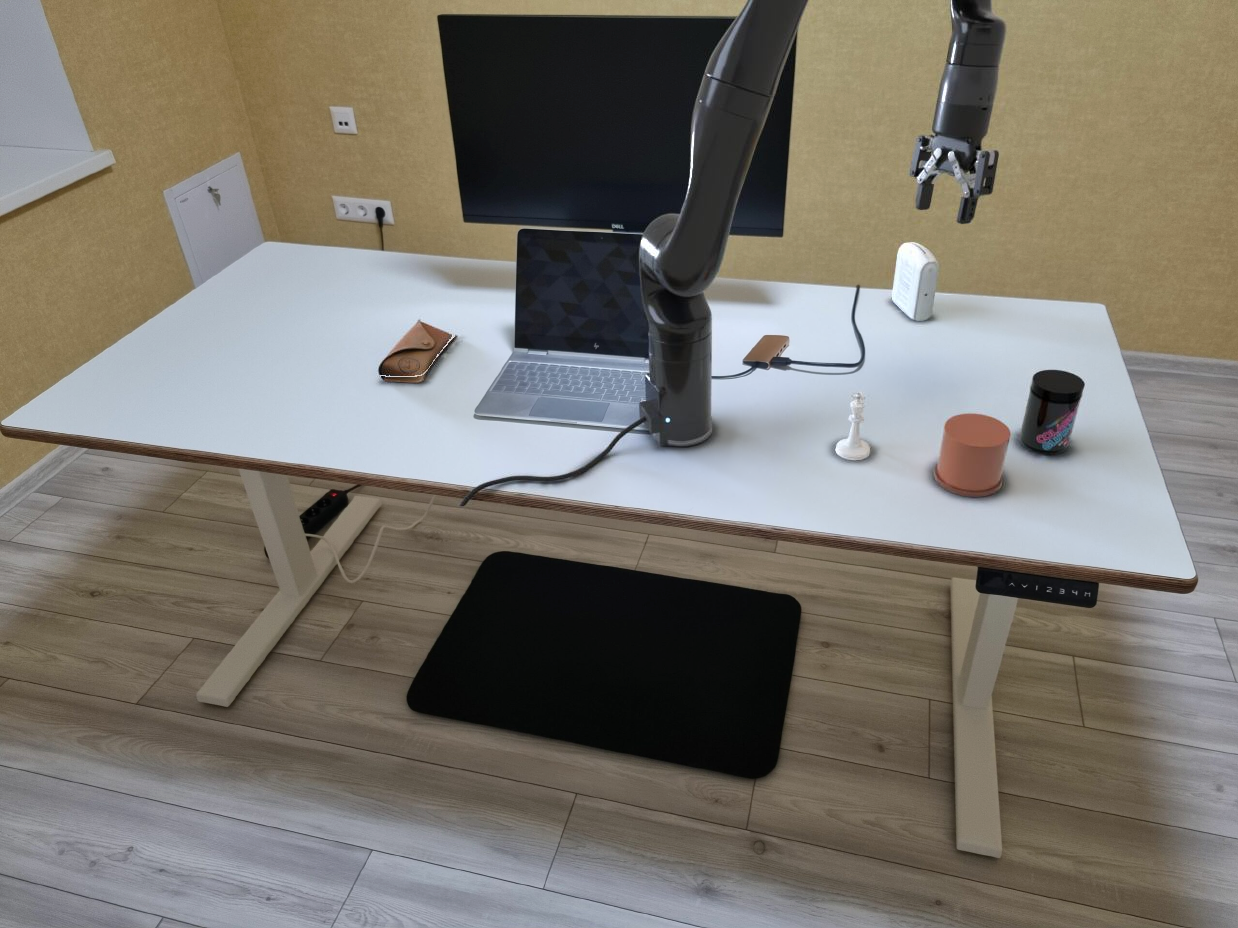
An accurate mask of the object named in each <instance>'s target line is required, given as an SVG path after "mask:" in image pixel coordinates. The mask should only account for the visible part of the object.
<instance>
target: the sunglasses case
mask: <svg viewBox="0 0 1238 928" xmlns="http://www.w3.org/2000/svg"><path fill="white" fill-rule="evenodd" d="M449 333H450V332H447V331H445V330H442V329H440V328H437V327H435V326H433V325H431V324H428V323H426V322H423V321H421V318H419V319H417V321H416V323H415V324H414V325H413V326H412V327H411V328H410V329H409V330H408V331H406V333H405V334H404V335H403V337H402V338H401V339H400V340H399V341H398V342H397V343H396V344H395V346H394V347H393V348H392V349H391V350H390V351H389V353H387V355H386V357H384V359H382V361H381V362H380V364H379V365H378V369H377V372H378V375H386V376H389V375H390V376H415V375H421V374H423V373H424V372H425V371H426V370H427V369H428V368H429V366H430V365H431V364H432V362H433V360H434V359H435V358H436V356H437V354H439V353H440V351H441V350H442V349H443V347H444V346H445V345H446V344H447V342H448V341H449V339H451V337H452V333H450V334H449ZM454 335H455V337H454V338H453V339H452V340H451V341H450V342H449V343H448V345H447V346H446V347H445V348H444V349H443V351H442V352H441V353H440V354H439V356H438V357H437V358H436V359H435V361H434V362H433V364H432V365H431V366H430V368H429V369H428V371H427V372H426V373H425V374H424V375H422V376H417V377H385V376H381V377H380V379H382V381H383V382H386V383H388V382H389V383H396V384H418V383H424V381H425V380H426V378H427V376H428V374H429V373H430V371H431V370H432V368H433V367H434V366H435V365H436V363H437V362H438V360H440V358H441V357H442V356H443V355H444V354H445V353H446V351H447V350H448V349H449V347H451V345H452V344H453V343H454V342H455V341H456V339H457V338H458V335H457V334H454Z"/></svg>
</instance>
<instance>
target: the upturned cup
mask: <svg viewBox="0 0 1238 928" xmlns="http://www.w3.org/2000/svg"><path fill="white" fill-rule="evenodd" d="M1010 440H1011V431H1010V428H1009V427H1008V426H1007V424H1005V423H1004V422H1003V421H1001V420H999V419H997V418H995V417H992V416H990V415H986V414H981V413H970V412H969V413H960V414H957V415H953V416H951V417H950V418H948V419H947V420H946V421H945V423H944V426H943V432H942V437H941V443H940V448H939V454H938V460H937V463H936V464H935V466H934V470H933V478H934V479H935V482H936V483H937V484H938V485H939V487H941V488H942V489H944V490H945V491H948V492H950V493H952V494H954V495H958V496H960V497H961V496H962V497H965V498H967V497H968V498H983V497H988V496H991V495H994V494H995V493H997V492H998V491H1000V489H1001V488H1002V485H1003V480H1004V475H1003V470H1004V467H1005V461H1006V457H1007V452H1008V448H1009V444H1010Z"/></svg>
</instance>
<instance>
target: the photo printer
mask: <svg viewBox="0 0 1238 928" xmlns="http://www.w3.org/2000/svg"><path fill="white" fill-rule="evenodd" d="M937 260H938V259H936V257H935V255H934V254H933V253H932V252H931V251H930V250H929V249H928V248H927V247H926V246H924V245H922V244H921V243H918V242H914V241H910V242H903V244H901V246H900V247H899V248H898V250H897V256H896V263H895V270H894V277H893V284H892V285H893V286H892V292H891V300H892V302H893V303H894V304H895V305H896V306H897V307H898V308H899V309H900V310H901V311H902V312H903V313H904V314H905V315H906V316H907V317H908V318H910V320H914V321H917V322H923V321H927V320H929V318H931V317H932V314H933V309H934V303H935V298H936V292H937V285H938V279H939V274H940V273H939V272H940V265H939V262H938V261H937Z"/></svg>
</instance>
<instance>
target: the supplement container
mask: <svg viewBox="0 0 1238 928" xmlns="http://www.w3.org/2000/svg"><path fill="white" fill-rule="evenodd" d="M1085 386H1086V384H1085V381H1084V379H1082V378H1081V377H1080V376H1078V375H1077V374H1074V373H1073V372H1069V371H1067V370H1061V369H1043V370H1039V371H1036V372H1035V373H1034V374H1033V375H1032V379H1031V383H1030V387H1029V393H1028V398H1027V401H1026V406H1025V410H1024V415H1023V419H1022V423H1021V428H1020V432H1019V440H1020V443H1021V444H1022V446H1024V448H1026V449H1027V450H1029V451H1031V452H1034V453H1036V454H1040V455H1050V456H1052V455H1058V454H1061V453H1062V452H1063V453H1064V451H1066V450H1067V449H1068V447H1069V445H1070V443H1071V437H1072V433H1073V430H1074V427H1075V423H1076V419H1077V415H1078V411H1079V408H1080V404H1081V401H1082V398H1083V393H1084V391H1085Z"/></svg>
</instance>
